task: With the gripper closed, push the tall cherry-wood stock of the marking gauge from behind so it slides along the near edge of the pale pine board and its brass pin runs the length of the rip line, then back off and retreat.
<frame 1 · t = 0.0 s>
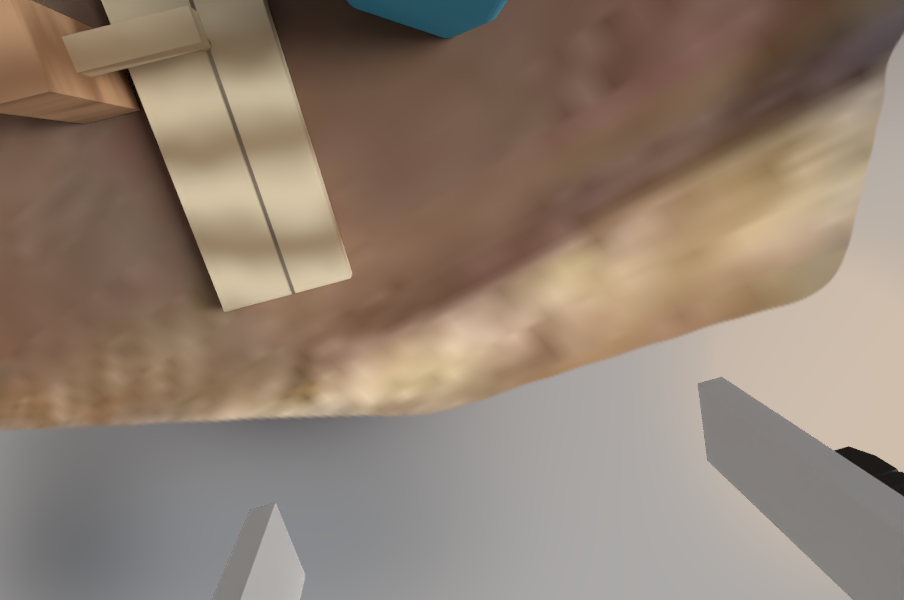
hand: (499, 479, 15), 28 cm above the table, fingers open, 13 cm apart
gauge: (107, 54, 31), point 5 cm above the table, slide at 0.0 cm
board: (239, 138, 38), on the table
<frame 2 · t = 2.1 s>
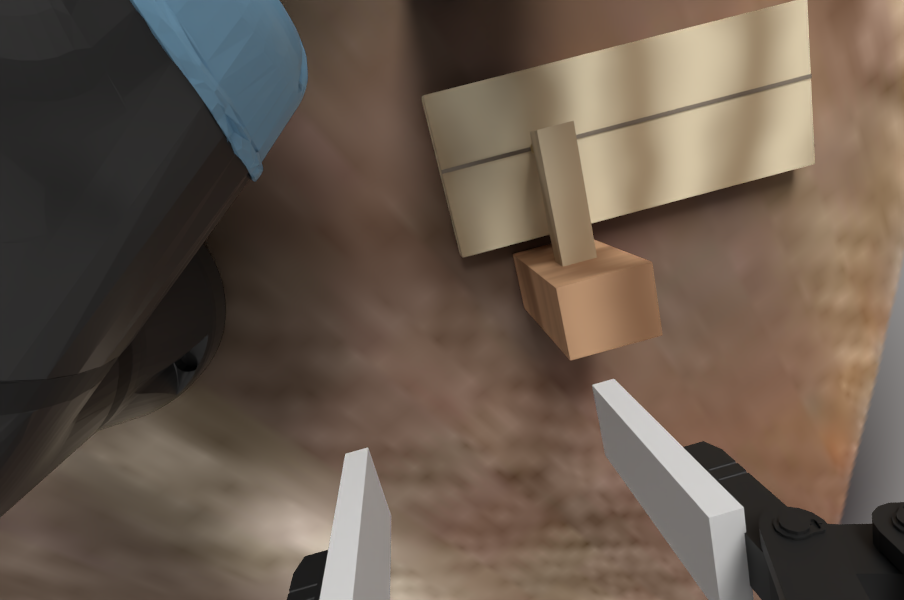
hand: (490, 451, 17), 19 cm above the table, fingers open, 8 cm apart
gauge: (566, 233, 30), point 5 cm above the table, slide at 0.0 cm
board: (617, 133, 34), on the table
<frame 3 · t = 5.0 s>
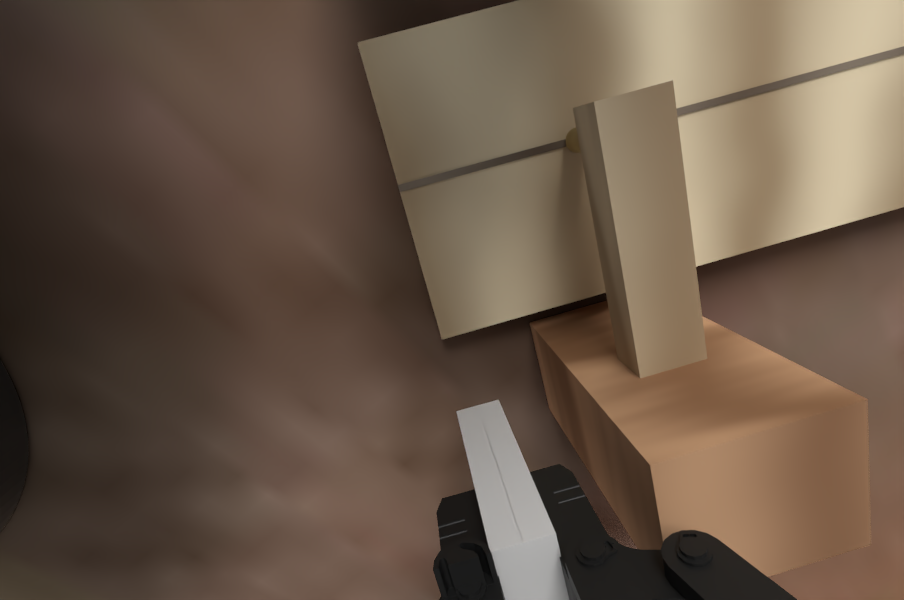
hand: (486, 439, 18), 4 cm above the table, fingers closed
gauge: (641, 306, 15), point 5 cm above the table, slide at 0.1 cm, touching gripper
board: (711, 114, 19), on the table
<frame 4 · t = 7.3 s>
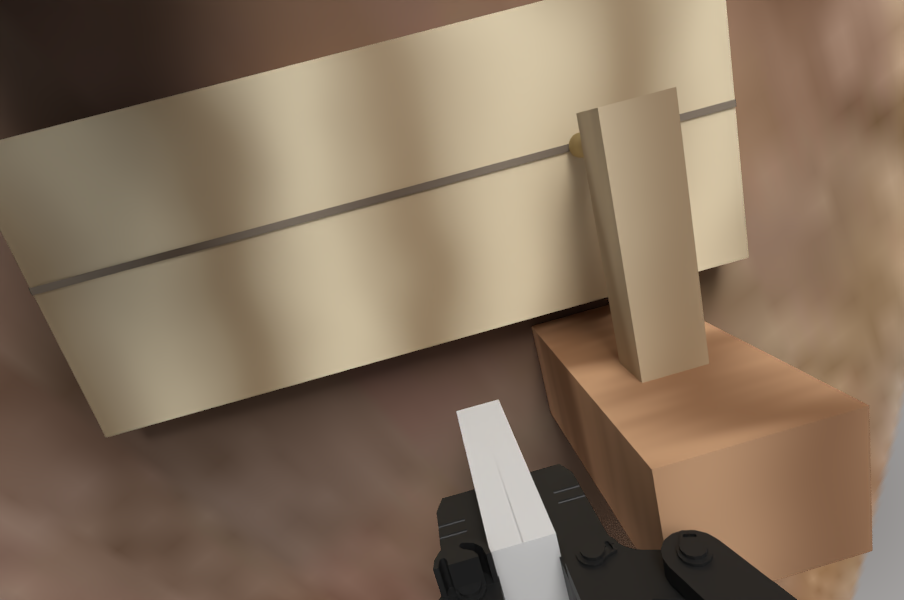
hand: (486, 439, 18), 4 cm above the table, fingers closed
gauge: (643, 311, 15), point 5 cm above the table, slide at 12.4 cm
board: (396, 205, 19), on the table
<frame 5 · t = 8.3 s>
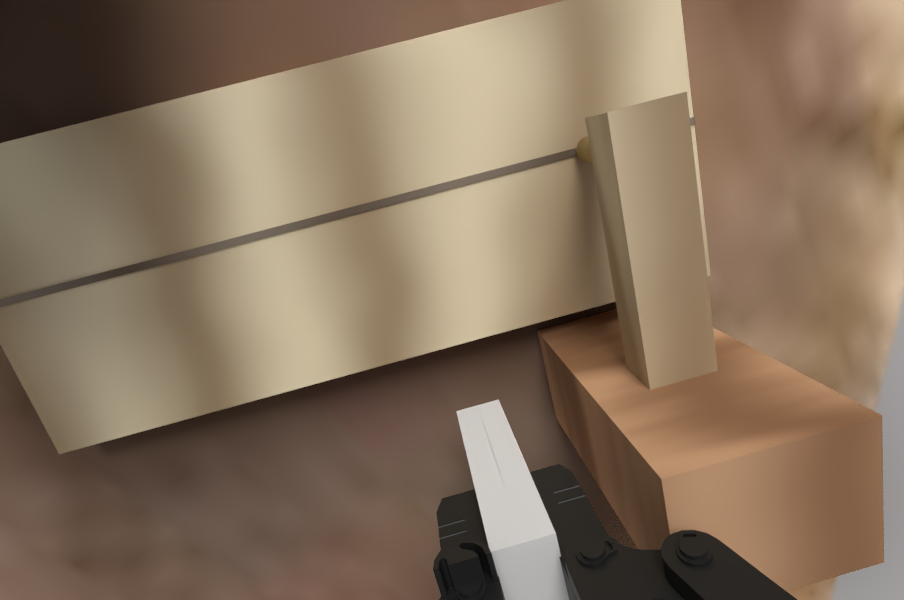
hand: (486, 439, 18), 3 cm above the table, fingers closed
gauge: (651, 316, 15), point 5 cm above the table, slide at 14.2 cm, touching gripper
board: (354, 221, 19), on the table
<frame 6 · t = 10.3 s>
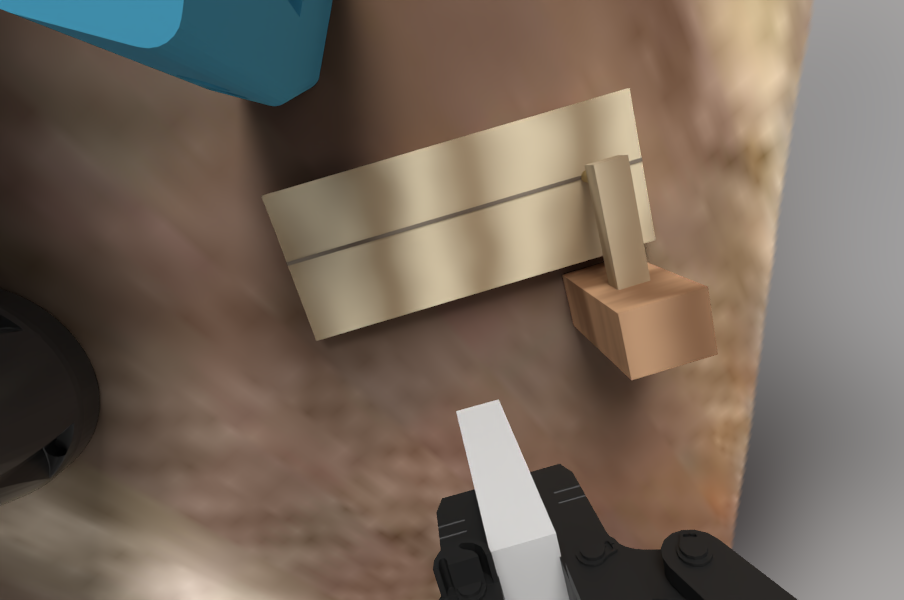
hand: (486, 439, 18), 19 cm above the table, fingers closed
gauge: (619, 257, 32), point 5 cm above the table, slide at 14.2 cm
board: (464, 216, 35), on the table
block: (288, 9, 31), on the table
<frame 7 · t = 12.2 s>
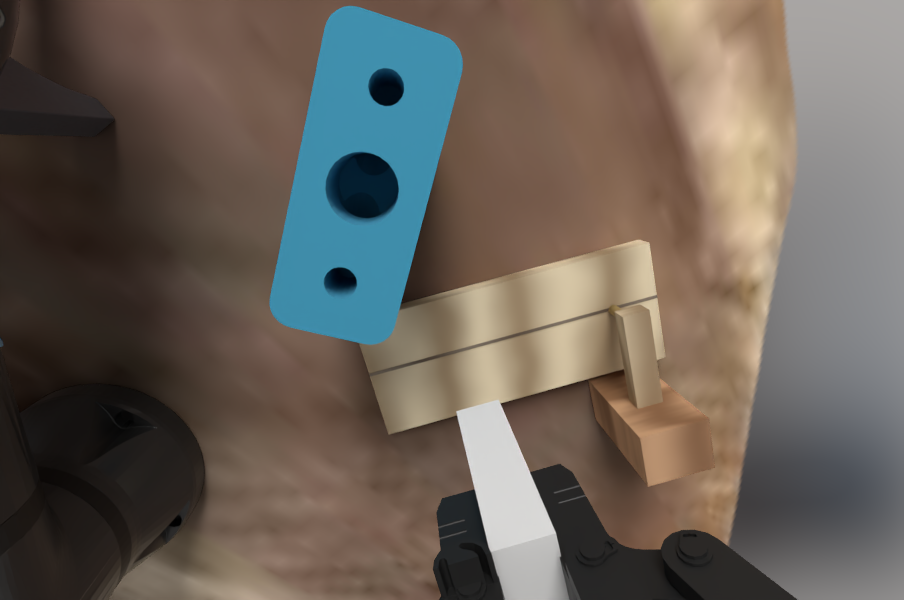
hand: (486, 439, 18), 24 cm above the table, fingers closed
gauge: (638, 380, 40), point 5 cm above the table, slide at 14.2 cm
board: (511, 333, 43), on the table
block: (379, 176, 39), on the table
planter: (5, 18, 34), on the table
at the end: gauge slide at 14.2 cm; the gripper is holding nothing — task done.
